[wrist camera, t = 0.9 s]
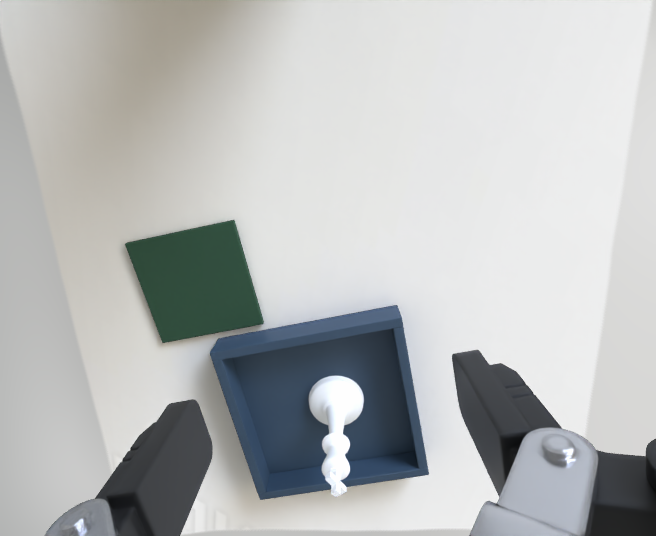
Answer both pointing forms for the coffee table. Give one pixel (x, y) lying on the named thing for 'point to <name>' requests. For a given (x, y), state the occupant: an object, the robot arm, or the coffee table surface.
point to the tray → (293, 400)
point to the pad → (196, 281)
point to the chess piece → (336, 424)
